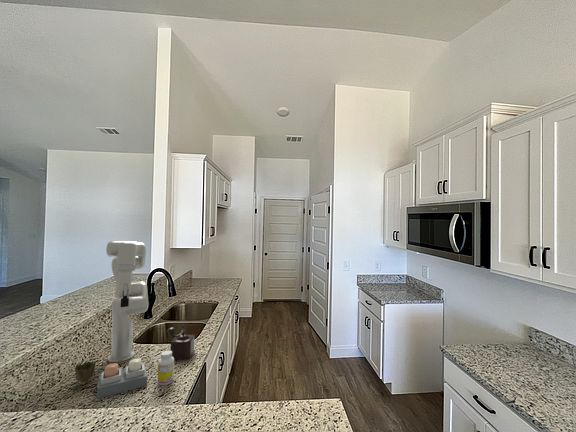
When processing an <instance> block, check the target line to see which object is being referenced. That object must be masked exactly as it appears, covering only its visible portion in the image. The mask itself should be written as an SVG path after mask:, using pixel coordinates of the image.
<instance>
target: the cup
mask: <svg viewBox="0 0 576 432" xmlns="http://www.w3.org/2000/svg"><path fill="white" fill-rule="evenodd" d="M95 369H96V361H94V362H93V361H86V362H85V361H84V363H83V364H81V363H80V364H77V365H76V366H75V367H74V371H75V374H74V375H75V380H76V381H77V382H79V386H85V385H87V384H89V383H90V382H91V379H92V377H94V374H95Z"/></svg>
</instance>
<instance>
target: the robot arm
mask: <svg viewBox="0 0 576 432" xmlns="http://www.w3.org/2000/svg"><path fill="white" fill-rule="evenodd" d="M105 249H106V255H107V256H108V257H113V258H112V261H111V271H112V274H113V276H114V279H115V297H116V299H115V300H113V301H112V303H111V316H112V329H111V331H112V332H111V351H110V352H111V353H110V354H109V355H108V356H107V361H108V362H109V363H121V362H125V361H128V360H130V359H133V358H134V356H135V355H136V352H135V351H134V350H133V333H134V332H133V331H134V322H133V320H132V319H131V317H130V316H131V315H139V314H143V313H145V312H147V311H148V309H149V295H148V292H149V291H148V285H147V283H146V282H145V281H142V280H141V281H133V279H134V278H133V271H136V270H141V269H143V268H144V267H145V265H146V255H147V247H146V244H145V243H143V242H139V241H138V242H137V241H135V240H116V241H115V240H113V241H112V240H111V241H109V242H108V243H107V244H106V248H105Z"/></svg>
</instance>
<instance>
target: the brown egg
mask: <svg viewBox="0 0 576 432" xmlns="http://www.w3.org/2000/svg"><path fill="white" fill-rule="evenodd" d="M118 369H119V363H118V362H112V363H109V364H107V365H106V366H104V372H105V378H108V377H112V376H116V375H118Z"/></svg>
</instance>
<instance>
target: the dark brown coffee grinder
mask: <svg viewBox="0 0 576 432" xmlns="http://www.w3.org/2000/svg"><path fill="white" fill-rule="evenodd" d="M185 329H186V326H185V324H183V325H182V328H181V331H180V333H179V334H175V333H176V328H175V327H169V328H168V329H167V335H168V338H173V339H172V340H171V342H170V349H169V351H172V357H174V361H189V360H190V359H191V358H192V357H193V354H194V353H195V334H186V333H185Z"/></svg>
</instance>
